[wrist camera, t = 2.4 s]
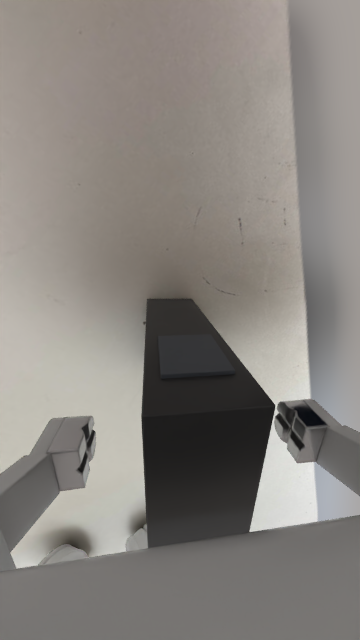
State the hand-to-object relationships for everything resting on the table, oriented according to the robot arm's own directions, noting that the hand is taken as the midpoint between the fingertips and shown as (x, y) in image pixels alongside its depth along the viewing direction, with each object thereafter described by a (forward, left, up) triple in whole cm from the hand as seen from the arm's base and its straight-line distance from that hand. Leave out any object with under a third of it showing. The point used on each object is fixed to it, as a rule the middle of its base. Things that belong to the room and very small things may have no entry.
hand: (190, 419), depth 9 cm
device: (0, 0, -9) cm, 9 cm away
